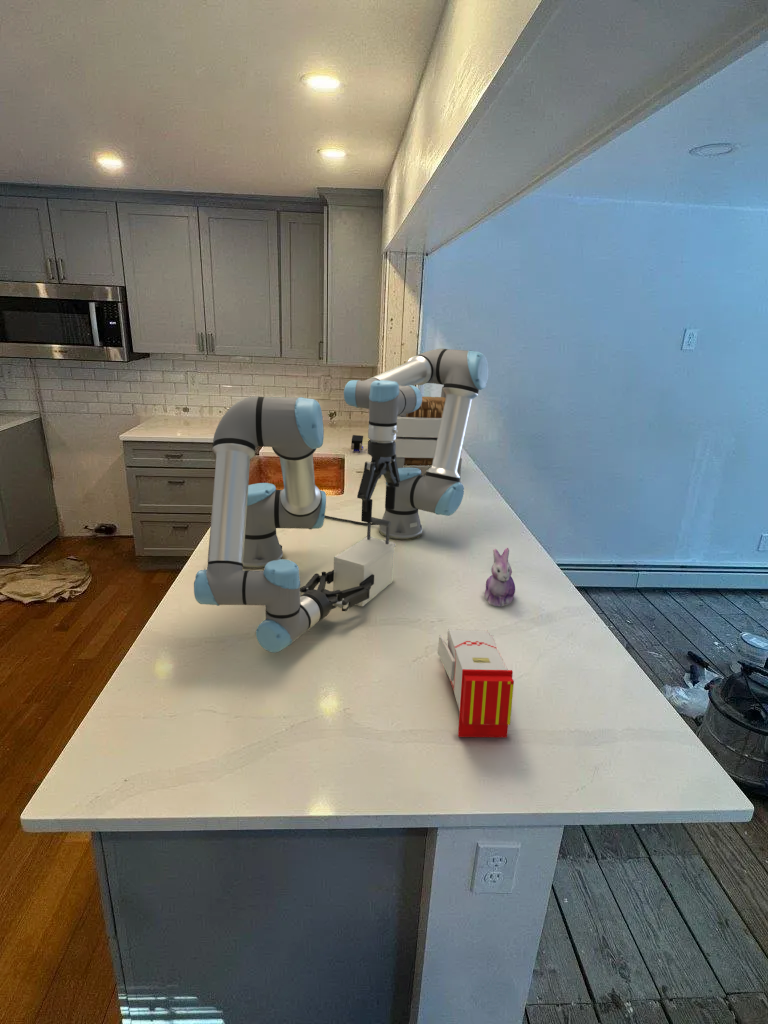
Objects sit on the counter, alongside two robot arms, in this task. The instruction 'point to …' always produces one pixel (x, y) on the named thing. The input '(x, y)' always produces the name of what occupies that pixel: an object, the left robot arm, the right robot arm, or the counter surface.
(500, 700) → the toy
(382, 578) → the chest
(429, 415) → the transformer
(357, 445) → the figurine character
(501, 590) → the figurine
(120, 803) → the counter surface
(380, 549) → the lid
